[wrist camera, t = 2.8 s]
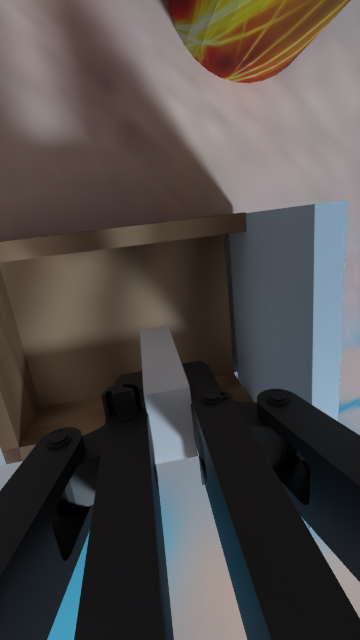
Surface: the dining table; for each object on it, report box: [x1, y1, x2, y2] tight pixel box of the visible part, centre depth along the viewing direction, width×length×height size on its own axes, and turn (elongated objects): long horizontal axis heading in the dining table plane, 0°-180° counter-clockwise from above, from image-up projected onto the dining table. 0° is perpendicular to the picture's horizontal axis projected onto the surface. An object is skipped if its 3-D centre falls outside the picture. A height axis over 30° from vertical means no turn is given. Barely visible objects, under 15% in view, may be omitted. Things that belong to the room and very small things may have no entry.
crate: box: [0, 213, 253, 464], centre depth 21 cm, size 16×13×6 cm
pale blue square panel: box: [229, 200, 348, 529], centre depth 17 cm, size 13×13×1 cm
